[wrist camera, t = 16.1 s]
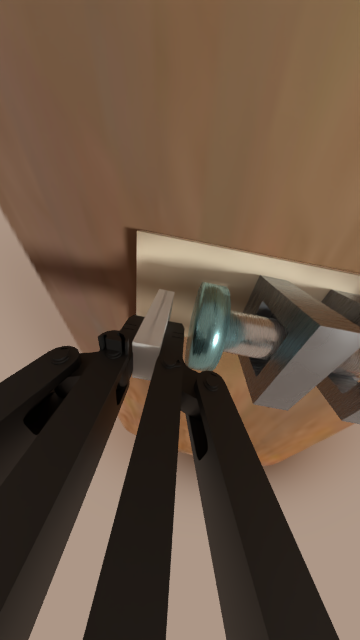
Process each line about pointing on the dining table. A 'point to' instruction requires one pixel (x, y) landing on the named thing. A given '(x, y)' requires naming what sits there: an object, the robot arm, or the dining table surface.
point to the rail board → (220, 273)
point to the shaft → (237, 333)
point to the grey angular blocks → (305, 347)
